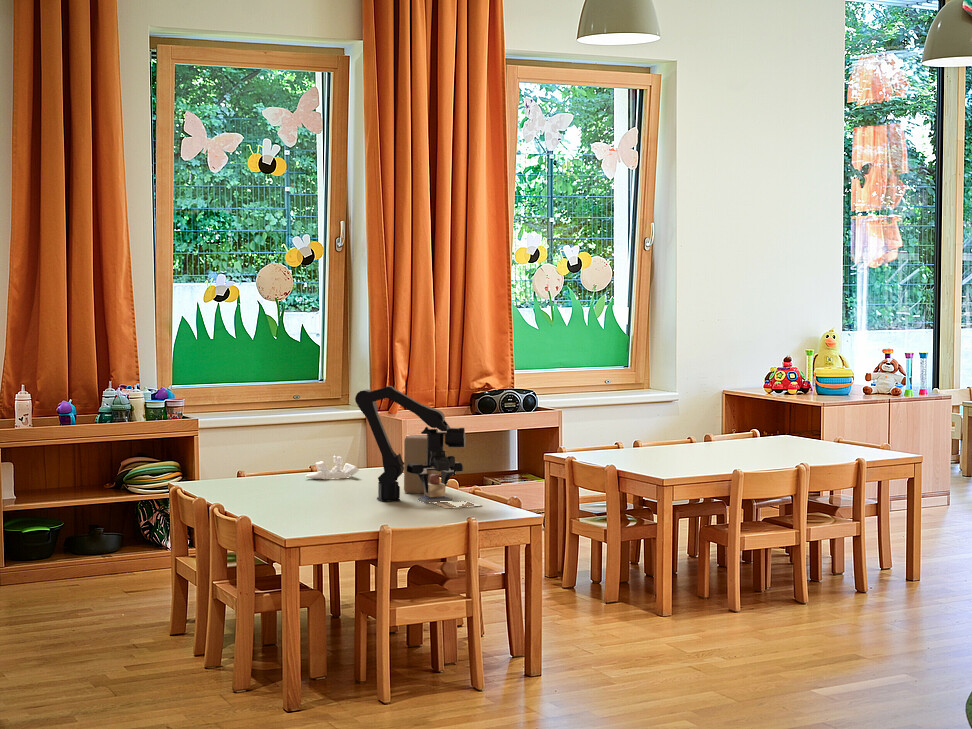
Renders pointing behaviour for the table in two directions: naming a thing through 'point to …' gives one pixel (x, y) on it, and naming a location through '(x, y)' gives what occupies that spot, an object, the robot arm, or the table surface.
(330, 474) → the white coral
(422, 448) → the wooden block
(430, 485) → the stamp
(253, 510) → the table surface
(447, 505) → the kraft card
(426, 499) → the ink pad
